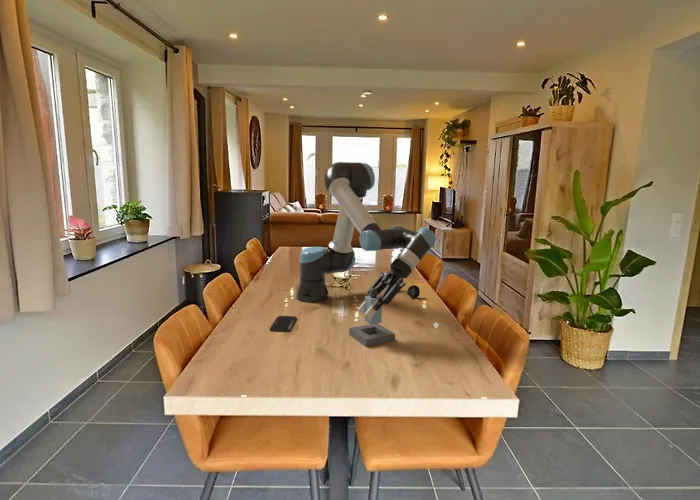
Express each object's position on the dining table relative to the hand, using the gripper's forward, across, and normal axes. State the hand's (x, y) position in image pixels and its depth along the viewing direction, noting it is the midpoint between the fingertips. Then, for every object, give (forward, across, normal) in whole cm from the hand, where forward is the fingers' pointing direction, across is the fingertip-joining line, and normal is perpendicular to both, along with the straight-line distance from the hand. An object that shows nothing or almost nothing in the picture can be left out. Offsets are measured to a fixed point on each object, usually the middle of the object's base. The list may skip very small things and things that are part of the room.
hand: (363, 314), depth 148 cm
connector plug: (0, 0, -5) cm, 5 cm away
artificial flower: (-25, +44, -39) cm, 64 cm away
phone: (+21, +26, +7) cm, 35 cm away
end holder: (+4, 0, -9) cm, 10 cm away
